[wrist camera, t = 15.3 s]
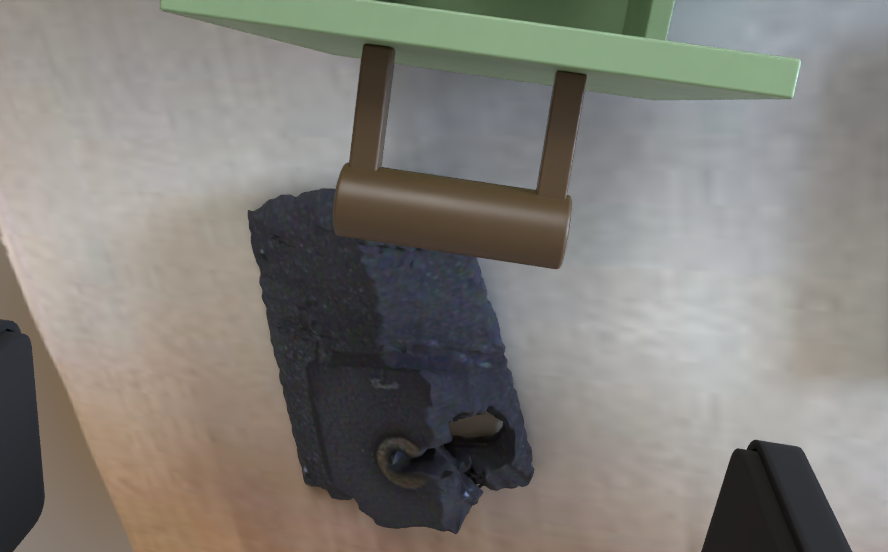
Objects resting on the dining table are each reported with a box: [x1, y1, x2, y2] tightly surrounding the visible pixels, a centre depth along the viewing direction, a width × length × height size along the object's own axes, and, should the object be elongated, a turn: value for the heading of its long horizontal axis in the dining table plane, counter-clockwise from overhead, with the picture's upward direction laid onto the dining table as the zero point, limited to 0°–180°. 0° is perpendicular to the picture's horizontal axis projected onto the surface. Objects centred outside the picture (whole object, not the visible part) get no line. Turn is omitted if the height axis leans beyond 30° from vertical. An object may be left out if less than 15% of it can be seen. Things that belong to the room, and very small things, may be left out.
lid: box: [160, 0, 801, 269], centre depth 27 cm, size 18×13×5 cm
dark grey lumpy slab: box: [248, 189, 534, 534], centre depth 50 cm, size 15×22×5 cm
